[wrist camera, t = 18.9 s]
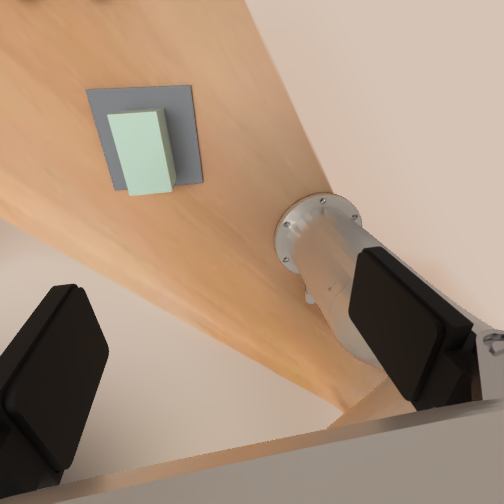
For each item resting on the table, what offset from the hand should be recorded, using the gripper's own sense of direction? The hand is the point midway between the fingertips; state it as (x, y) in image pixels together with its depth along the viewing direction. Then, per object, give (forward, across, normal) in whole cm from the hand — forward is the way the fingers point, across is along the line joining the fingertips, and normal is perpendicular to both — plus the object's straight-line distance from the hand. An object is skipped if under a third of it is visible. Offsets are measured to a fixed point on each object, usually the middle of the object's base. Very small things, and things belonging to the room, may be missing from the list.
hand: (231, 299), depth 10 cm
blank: (+26, +6, -2) cm, 27 cm away
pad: (+26, +6, -2) cm, 27 cm away
